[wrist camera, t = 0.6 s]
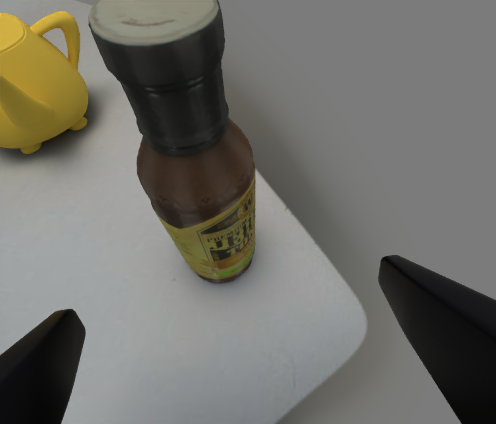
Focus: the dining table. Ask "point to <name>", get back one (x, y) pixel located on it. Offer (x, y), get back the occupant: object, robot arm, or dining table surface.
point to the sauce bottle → (184, 126)
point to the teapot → (39, 82)
